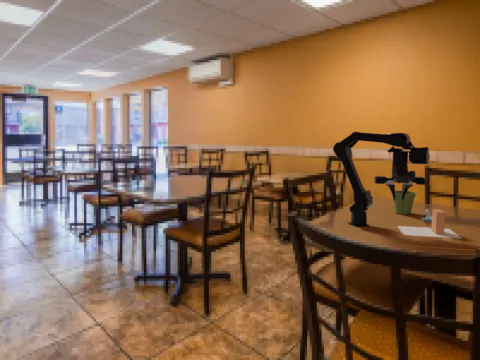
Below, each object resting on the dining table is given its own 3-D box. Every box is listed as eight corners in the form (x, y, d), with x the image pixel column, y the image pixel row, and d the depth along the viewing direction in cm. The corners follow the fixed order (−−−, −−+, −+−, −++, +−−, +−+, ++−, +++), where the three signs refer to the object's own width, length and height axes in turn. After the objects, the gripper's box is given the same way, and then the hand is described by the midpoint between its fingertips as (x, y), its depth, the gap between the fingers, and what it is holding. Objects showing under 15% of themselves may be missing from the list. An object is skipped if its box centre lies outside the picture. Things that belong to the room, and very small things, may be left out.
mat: (403, 235, 130) (404, 234, 130) (396, 226, 143) (396, 225, 143) (461, 239, 125) (462, 238, 125) (448, 229, 138) (448, 228, 138)
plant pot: (409, 210, 175) (411, 190, 173) (419, 216, 163) (421, 194, 162) (387, 210, 176) (388, 190, 175) (395, 215, 164) (396, 193, 163)
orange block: (435, 234, 131) (436, 212, 130) (431, 230, 136) (432, 209, 135) (443, 234, 130) (445, 212, 129) (439, 230, 135) (440, 209, 134)
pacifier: (440, 222, 151) (426, 219, 156) (441, 209, 150) (427, 206, 155) (433, 225, 147) (419, 222, 152) (434, 211, 146) (420, 209, 151)
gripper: (378, 164, 128) (377, 203, 130) (431, 165, 124) (428, 205, 126) (374, 162, 139) (373, 198, 141) (422, 163, 134) (420, 200, 136)
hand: (398, 200), depth 136 cm, fingers open, 3 cm apart
